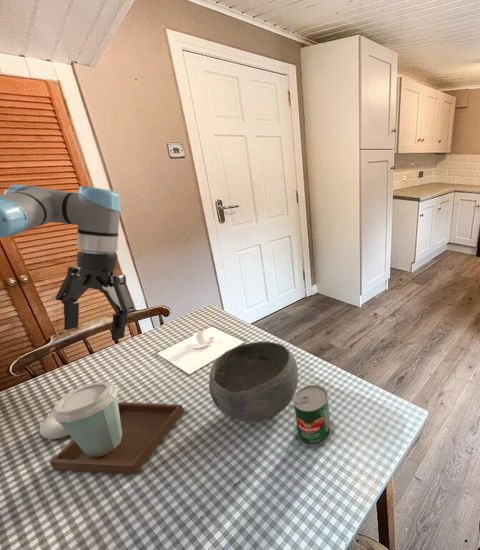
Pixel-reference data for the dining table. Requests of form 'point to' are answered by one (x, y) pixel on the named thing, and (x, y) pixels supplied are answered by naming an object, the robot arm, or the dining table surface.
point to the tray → (125, 440)
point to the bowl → (253, 381)
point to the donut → (52, 428)
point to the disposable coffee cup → (91, 417)
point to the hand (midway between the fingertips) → (94, 333)
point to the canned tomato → (312, 415)
